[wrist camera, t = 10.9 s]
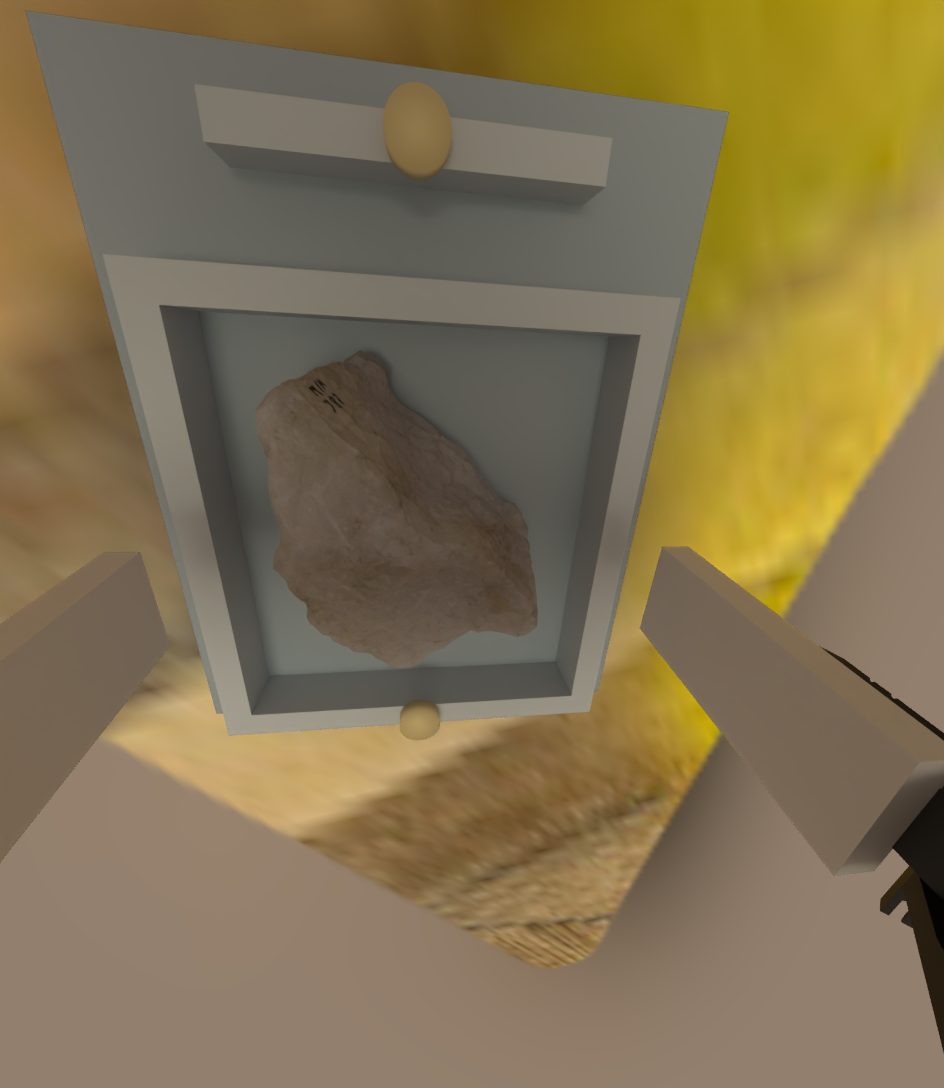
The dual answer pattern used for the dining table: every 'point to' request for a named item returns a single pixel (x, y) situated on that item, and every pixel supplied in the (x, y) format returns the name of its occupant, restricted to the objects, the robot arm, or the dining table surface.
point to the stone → (387, 520)
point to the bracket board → (383, 326)
